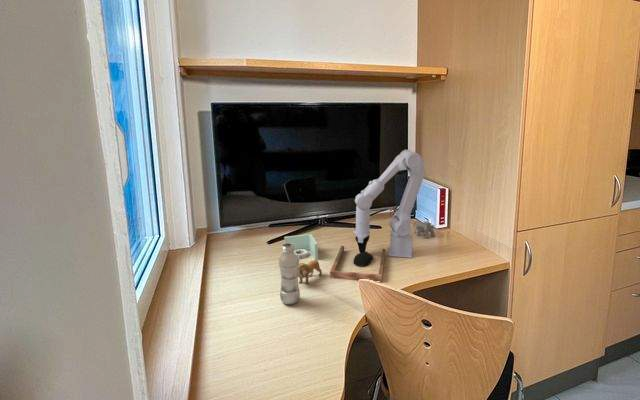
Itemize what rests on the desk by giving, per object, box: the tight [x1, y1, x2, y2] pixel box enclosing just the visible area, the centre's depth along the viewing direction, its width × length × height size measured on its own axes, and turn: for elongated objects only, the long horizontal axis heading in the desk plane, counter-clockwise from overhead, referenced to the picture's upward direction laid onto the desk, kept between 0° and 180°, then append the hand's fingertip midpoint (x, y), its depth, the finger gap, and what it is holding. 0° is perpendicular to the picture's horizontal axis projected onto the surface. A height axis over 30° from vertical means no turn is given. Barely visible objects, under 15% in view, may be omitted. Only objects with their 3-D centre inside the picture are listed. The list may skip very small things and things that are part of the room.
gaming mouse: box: [352, 250, 374, 267], centre depth 147 cm, size 6×15×4 cm, turn 152°
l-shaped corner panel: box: [283, 233, 319, 261], centre depth 151 cm, size 12×12×8 cm
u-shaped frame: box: [329, 245, 386, 283], centre depth 142 cm, size 19×25×2 cm
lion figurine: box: [298, 259, 323, 286], centre depth 130 cm, size 15×5×9 cm, turn 152°
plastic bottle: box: [278, 243, 301, 305], centre depth 114 cm, size 6×7×20 cm
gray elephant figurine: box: [413, 221, 436, 239], centre depth 170 cm, size 9×12×8 cm
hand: (362, 252), depth 151 cm, fingers closed
